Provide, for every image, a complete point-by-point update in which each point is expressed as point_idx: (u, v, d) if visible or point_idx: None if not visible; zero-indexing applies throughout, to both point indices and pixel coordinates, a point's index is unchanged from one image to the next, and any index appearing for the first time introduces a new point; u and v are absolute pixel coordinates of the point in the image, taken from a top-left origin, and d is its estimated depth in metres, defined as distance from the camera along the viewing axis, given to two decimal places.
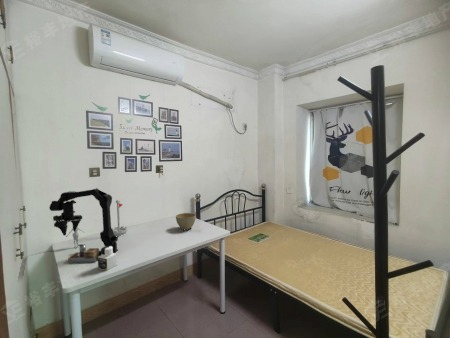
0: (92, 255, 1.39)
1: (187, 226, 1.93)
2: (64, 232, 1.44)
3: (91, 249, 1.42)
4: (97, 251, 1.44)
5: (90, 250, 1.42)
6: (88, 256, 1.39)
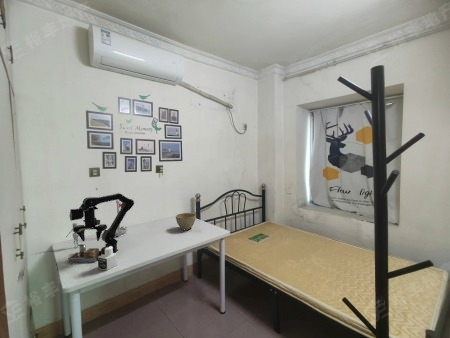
0: (92, 255, 1.39)
1: (187, 226, 1.93)
2: None
3: (91, 249, 1.42)
4: (97, 251, 1.44)
5: (90, 250, 1.42)
6: (88, 256, 1.39)
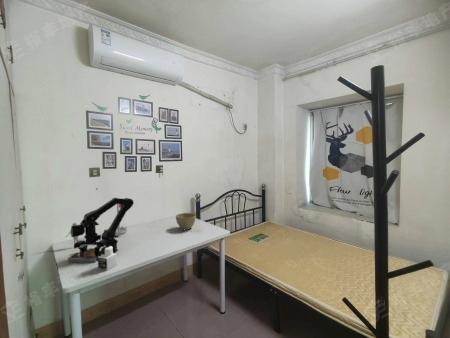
0: (92, 255, 1.39)
1: (187, 226, 1.93)
2: None
3: (91, 249, 1.42)
4: None
5: (90, 250, 1.42)
6: (88, 256, 1.39)
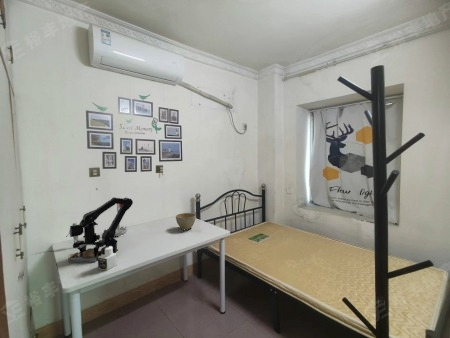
0: (91, 255, 1.39)
1: (187, 226, 1.93)
2: None
3: (90, 249, 1.42)
4: None
5: (89, 250, 1.42)
6: (87, 256, 1.39)
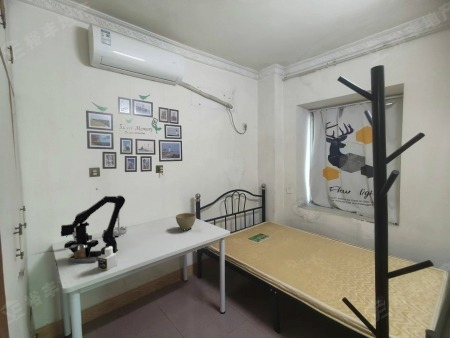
0: (82, 255, 1.39)
1: (187, 226, 1.93)
2: None
3: (82, 250, 1.42)
4: None
5: (81, 250, 1.41)
6: (78, 256, 1.39)
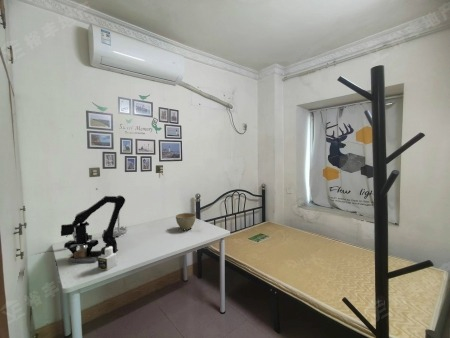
0: (82, 255, 1.39)
1: (187, 226, 1.93)
2: None
3: (82, 250, 1.42)
4: None
5: (81, 250, 1.41)
6: (78, 256, 1.39)
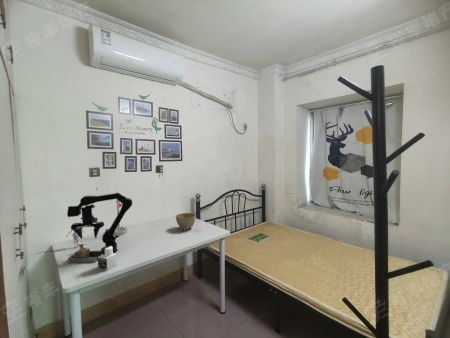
0: (82, 255, 1.39)
1: (187, 226, 1.93)
2: None
3: (82, 250, 1.42)
4: (88, 251, 1.44)
5: (81, 250, 1.41)
6: (78, 256, 1.39)
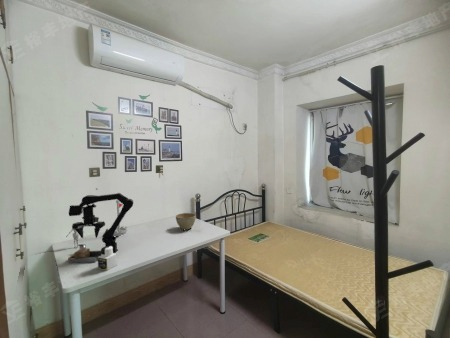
0: (82, 255, 1.39)
1: (187, 226, 1.93)
2: None
3: (82, 250, 1.42)
4: (88, 251, 1.44)
5: (81, 250, 1.41)
6: (78, 256, 1.39)
